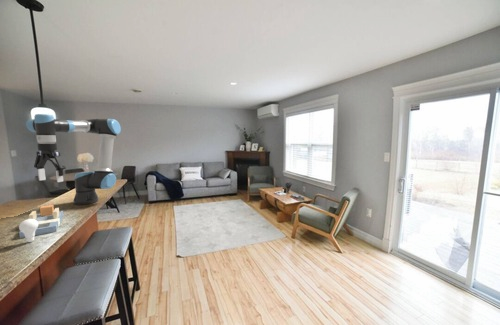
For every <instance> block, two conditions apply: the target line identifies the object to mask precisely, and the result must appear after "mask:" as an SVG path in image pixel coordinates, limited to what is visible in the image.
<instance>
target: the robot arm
mask: <svg viewBox="0 0 500 325" xmlns="http://www.w3.org/2000/svg"><path fill="white" fill-rule="evenodd" d="M25 125H26V128H27V129H28V130H29V131H30V132H32V133H35V134H36V137H35V138H36V142H37V145H36V146H37V150H38V151H36V156H35V160H34V164H33V167H34V168H35V169H37V173H38V174H37V175H38V181H46V180H47V179H46V178H47V177H46V169H45V166H46V164H47V161H49V162H51V164H53V167H55V169H56V170H55V176H56V182H57V183H62V182H64V170H66V168H67V167H66V165H65V163H64V161H63V159H62V156H61V152H60V151H56V150H58V147H57V137H56V133H65V134H68V133H72V132H73V133H74V132H75V133H76V132H81V133H85V134H86V133H87V134H96V135H97V136H99V137H100V138H99V139H100V141H99V150H98V160H97V166H96V169H95V170H94V171H93V170H91V171H82V172H77V173H75V175H74V188H75V195H74V198H73V200H72V201H73V202H72V203H73V205H75V204H76V206H78V205H79V206H82V204H84V205H89V204H90V203H91V204H94V202H95V203H97V202H99V195H98V194H97V191H96V190H109V189H111V188H113V187H115V184H117V183H116V182H117V177H116V174H114V170H112V165H113V162H112V161H113V153H114V144H115V143H114V142H115V139H116V138H117V135H120V133H121V131H122V128H121V124H120V122H119V121H118V120H116V119H114V118H89V119H80V120H67V119H56V118H55V116H54V115H52V114H45V113H44V114H43V113H41V114H40V113H37V114H34V118H33V119H28V120H27V121H26V123H25ZM91 204H90V205H91Z"/></svg>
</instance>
